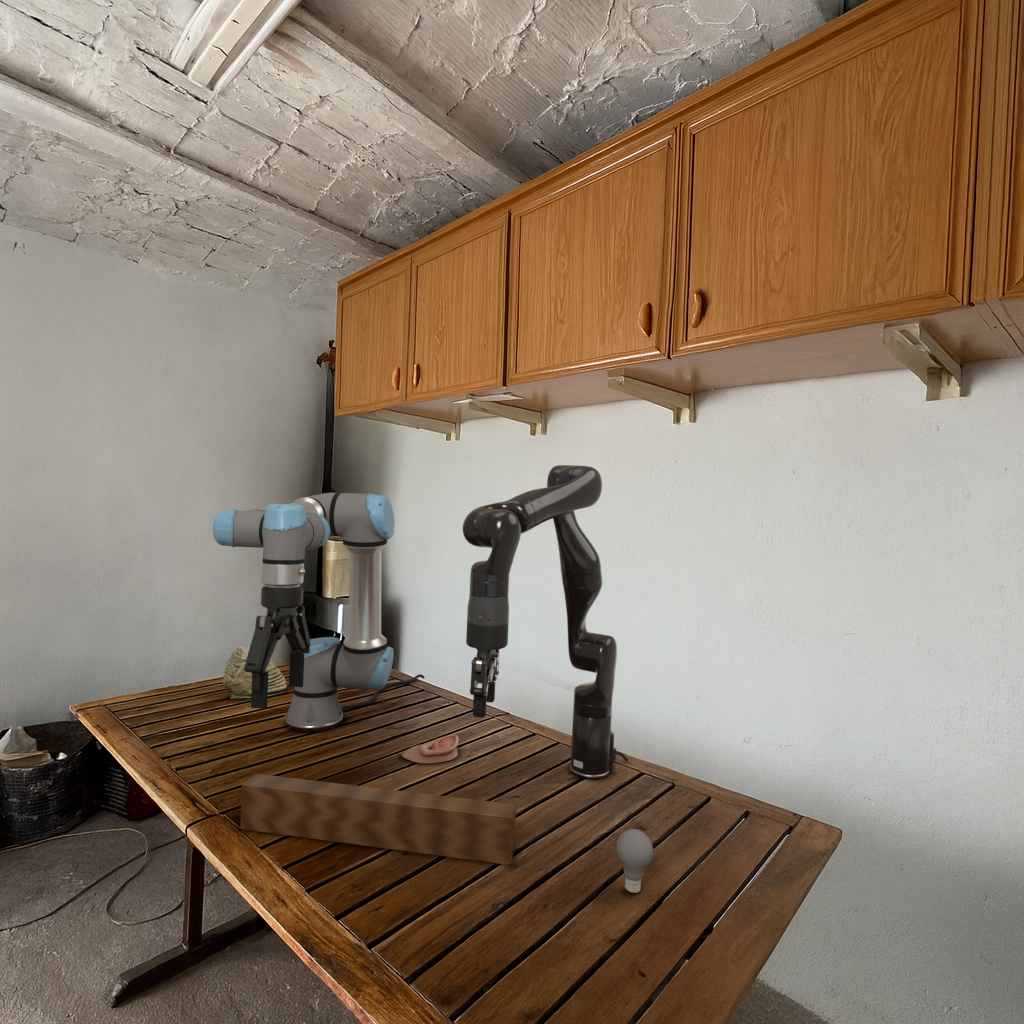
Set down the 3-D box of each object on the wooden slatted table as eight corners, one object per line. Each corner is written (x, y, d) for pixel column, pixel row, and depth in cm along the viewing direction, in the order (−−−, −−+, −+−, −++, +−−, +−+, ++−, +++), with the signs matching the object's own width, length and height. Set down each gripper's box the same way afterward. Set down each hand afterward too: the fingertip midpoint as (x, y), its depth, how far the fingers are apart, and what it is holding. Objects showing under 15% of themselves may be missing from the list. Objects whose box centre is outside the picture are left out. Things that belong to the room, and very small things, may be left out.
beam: (240, 829, 120) (241, 784, 119) (254, 816, 125) (256, 773, 124) (510, 865, 112) (512, 817, 112) (514, 849, 117) (516, 804, 117)
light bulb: (610, 879, 108) (613, 822, 108) (644, 879, 109) (647, 822, 109) (619, 902, 102) (622, 840, 102) (655, 901, 103) (658, 840, 103)
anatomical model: (397, 744, 153) (414, 727, 164) (396, 760, 153) (413, 743, 165) (449, 750, 151) (463, 733, 162) (449, 767, 151) (462, 749, 162)
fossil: (218, 695, 195) (220, 647, 195) (278, 685, 208) (279, 640, 207) (228, 703, 189) (230, 653, 188) (289, 692, 201) (290, 645, 201)
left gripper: (265, 595, 107) (261, 720, 108) (330, 578, 132) (326, 680, 132) (225, 593, 108) (220, 716, 109) (296, 576, 133) (292, 677, 133)
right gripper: (501, 628, 107) (497, 724, 107) (514, 614, 121) (510, 698, 121) (458, 625, 108) (454, 720, 108) (475, 611, 122) (472, 695, 122)
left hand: (278, 696), depth 120 cm, fingers open, 13 cm apart
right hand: (484, 708), depth 114 cm, fingers open, 8 cm apart
